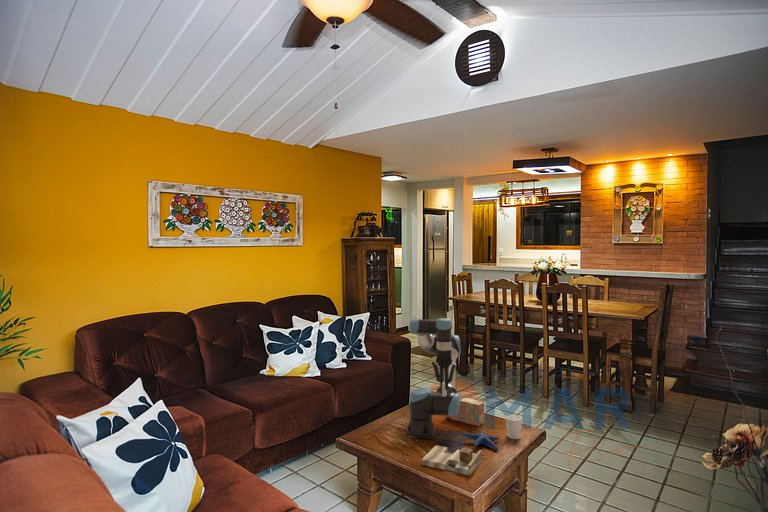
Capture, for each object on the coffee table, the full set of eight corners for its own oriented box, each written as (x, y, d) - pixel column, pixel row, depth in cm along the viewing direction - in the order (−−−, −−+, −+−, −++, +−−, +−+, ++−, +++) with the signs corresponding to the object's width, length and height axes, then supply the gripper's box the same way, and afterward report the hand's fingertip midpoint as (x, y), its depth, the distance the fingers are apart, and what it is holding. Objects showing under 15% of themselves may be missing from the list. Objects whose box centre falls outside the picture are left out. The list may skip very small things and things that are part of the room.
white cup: (503, 434, 244) (503, 415, 244) (518, 433, 245) (518, 414, 245) (509, 440, 236) (508, 420, 236) (523, 439, 237) (523, 420, 237)
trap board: (422, 464, 211) (421, 454, 211) (436, 450, 226) (436, 441, 225) (470, 475, 200) (470, 465, 199) (481, 460, 214) (481, 450, 214)
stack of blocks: (446, 418, 268) (445, 397, 268) (451, 415, 273) (451, 394, 273) (479, 426, 255) (479, 404, 255) (484, 423, 260) (484, 401, 260)
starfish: (484, 456, 218) (483, 446, 218) (458, 442, 234) (458, 433, 234) (512, 447, 228) (511, 437, 228) (485, 434, 244) (485, 425, 244)
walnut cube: (459, 461, 208) (459, 451, 208) (463, 457, 212) (462, 447, 212) (469, 463, 206) (469, 453, 206) (472, 459, 210) (472, 449, 210)
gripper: (429, 349, 232) (429, 395, 233) (453, 352, 226) (454, 399, 227) (434, 346, 239) (435, 391, 239) (458, 349, 233) (459, 395, 233)
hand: (444, 395), depth 233 cm, fingers closed
